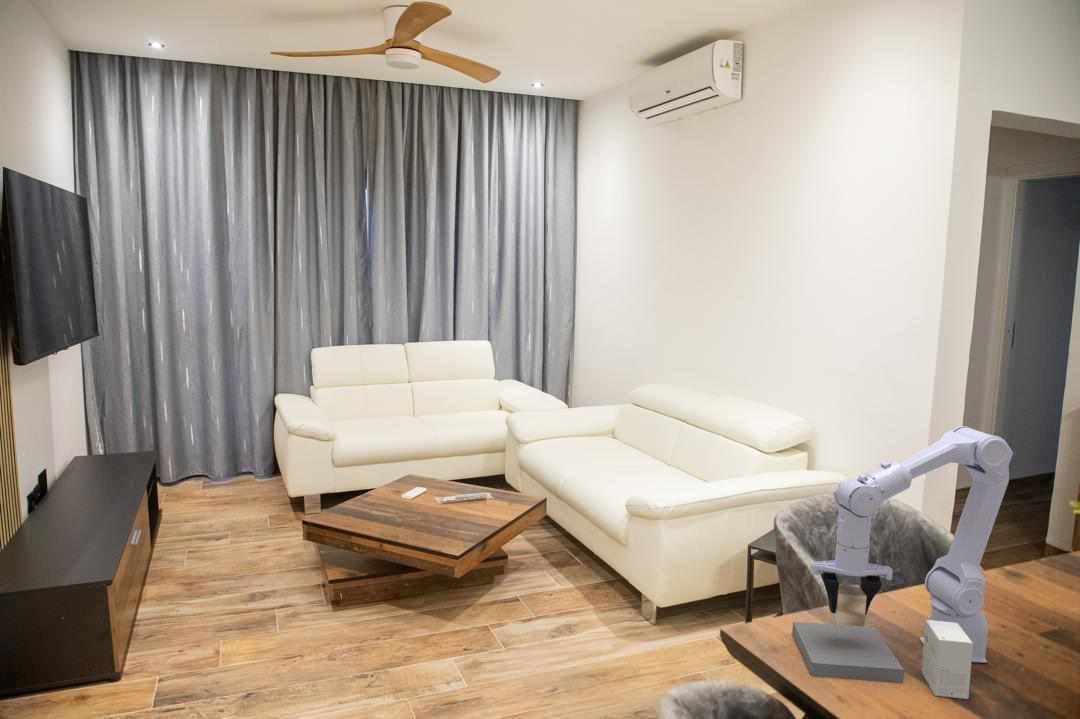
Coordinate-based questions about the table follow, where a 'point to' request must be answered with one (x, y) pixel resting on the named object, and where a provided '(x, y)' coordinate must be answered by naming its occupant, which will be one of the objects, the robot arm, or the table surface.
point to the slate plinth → (846, 652)
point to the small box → (947, 659)
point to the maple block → (850, 606)
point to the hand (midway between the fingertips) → (847, 611)
